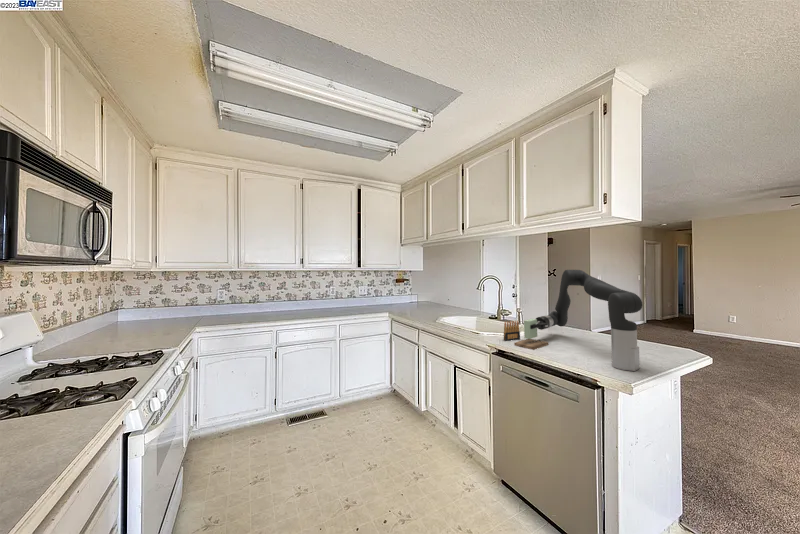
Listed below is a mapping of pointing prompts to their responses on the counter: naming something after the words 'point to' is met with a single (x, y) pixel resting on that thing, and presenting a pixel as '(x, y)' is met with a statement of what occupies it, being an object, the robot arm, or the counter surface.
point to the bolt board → (531, 344)
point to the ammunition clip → (511, 331)
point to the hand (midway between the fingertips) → (527, 326)
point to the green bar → (528, 331)
